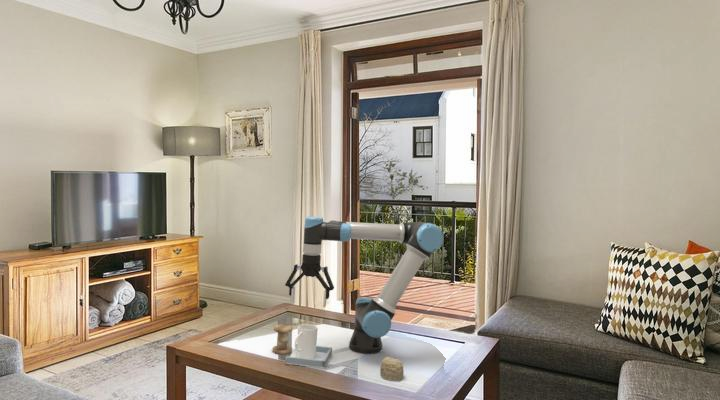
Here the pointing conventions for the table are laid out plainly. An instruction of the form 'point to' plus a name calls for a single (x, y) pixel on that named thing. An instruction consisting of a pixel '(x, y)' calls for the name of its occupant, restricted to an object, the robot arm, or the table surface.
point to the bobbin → (282, 339)
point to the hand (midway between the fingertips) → (308, 305)
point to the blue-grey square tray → (317, 362)
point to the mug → (306, 341)
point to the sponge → (391, 369)
